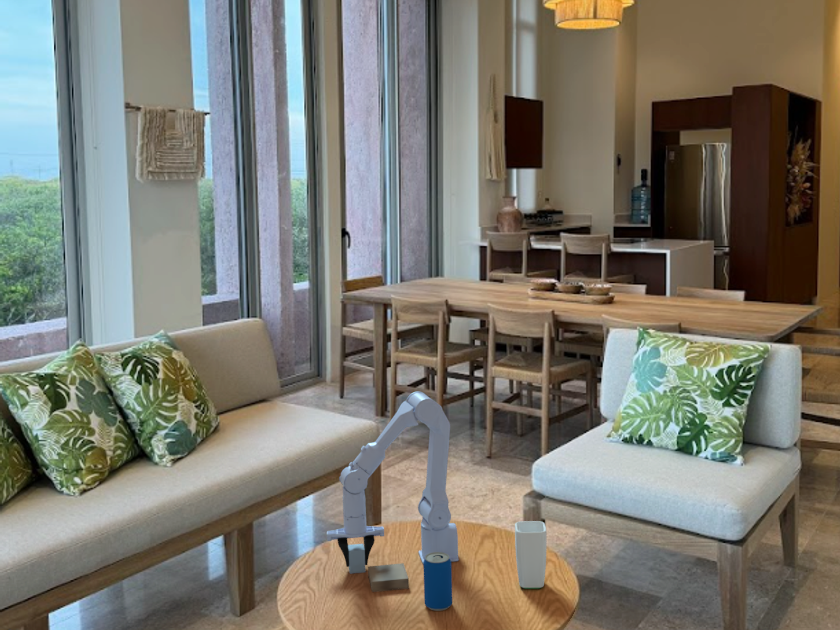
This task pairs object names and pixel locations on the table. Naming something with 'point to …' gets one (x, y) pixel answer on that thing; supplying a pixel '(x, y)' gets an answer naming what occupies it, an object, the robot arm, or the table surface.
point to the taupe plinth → (388, 577)
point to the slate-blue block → (356, 558)
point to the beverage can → (437, 581)
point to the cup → (530, 553)
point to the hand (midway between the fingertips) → (356, 564)
